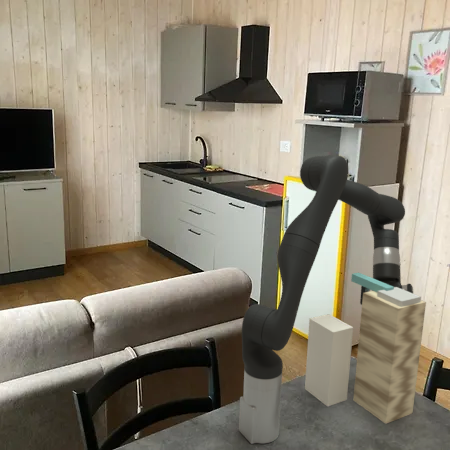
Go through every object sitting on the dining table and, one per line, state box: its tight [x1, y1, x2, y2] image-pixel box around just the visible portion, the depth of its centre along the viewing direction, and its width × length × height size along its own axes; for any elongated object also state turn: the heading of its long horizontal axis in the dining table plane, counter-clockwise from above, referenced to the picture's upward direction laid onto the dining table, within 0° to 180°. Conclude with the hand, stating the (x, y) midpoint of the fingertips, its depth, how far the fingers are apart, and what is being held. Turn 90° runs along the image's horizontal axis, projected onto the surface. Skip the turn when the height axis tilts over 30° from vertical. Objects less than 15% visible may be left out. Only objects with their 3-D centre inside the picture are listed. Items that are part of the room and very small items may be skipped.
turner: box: [350, 272, 422, 307], centre depth 134 cm, size 7×20×2 cm, turn 29°
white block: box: [304, 314, 354, 407], centre depth 140 cm, size 7×10×22 cm
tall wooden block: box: [353, 290, 427, 425], centre depth 134 cm, size 10×12×32 cm
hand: (387, 321), depth 138 cm, fingers open, 8 cm apart
